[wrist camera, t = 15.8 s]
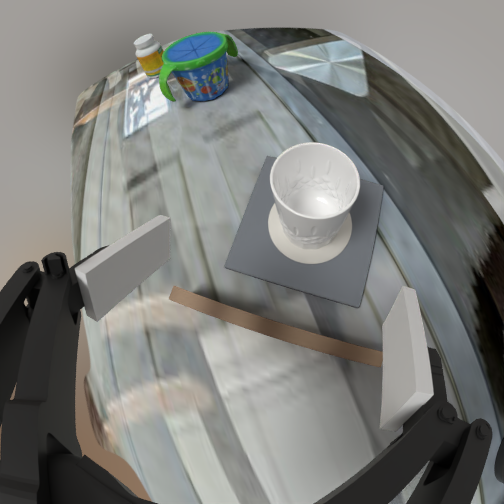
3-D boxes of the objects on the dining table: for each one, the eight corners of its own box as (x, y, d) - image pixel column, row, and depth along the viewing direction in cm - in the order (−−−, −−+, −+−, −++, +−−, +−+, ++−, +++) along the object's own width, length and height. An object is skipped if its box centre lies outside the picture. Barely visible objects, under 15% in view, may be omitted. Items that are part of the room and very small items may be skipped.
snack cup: (223, 61, 46) (212, 21, 37) (260, 78, 43) (252, 32, 34) (159, 104, 45) (137, 64, 35) (190, 126, 41) (168, 80, 32)
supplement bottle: (147, 70, 50) (130, 39, 41) (169, 61, 49) (155, 29, 40) (147, 82, 48) (130, 49, 39) (171, 72, 48) (156, 37, 39)
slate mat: (382, 188, 34) (383, 185, 33) (357, 308, 30) (359, 307, 29) (267, 158, 37) (266, 154, 37) (225, 268, 33) (223, 266, 33)
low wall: (371, 350, 28) (385, 352, 23) (367, 363, 28) (380, 367, 23) (190, 293, 33) (173, 285, 28) (185, 305, 33) (168, 299, 28)
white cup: (286, 187, 35) (282, 135, 25) (348, 202, 33) (364, 153, 24) (268, 245, 33) (258, 205, 23) (335, 262, 31) (352, 229, 22)
